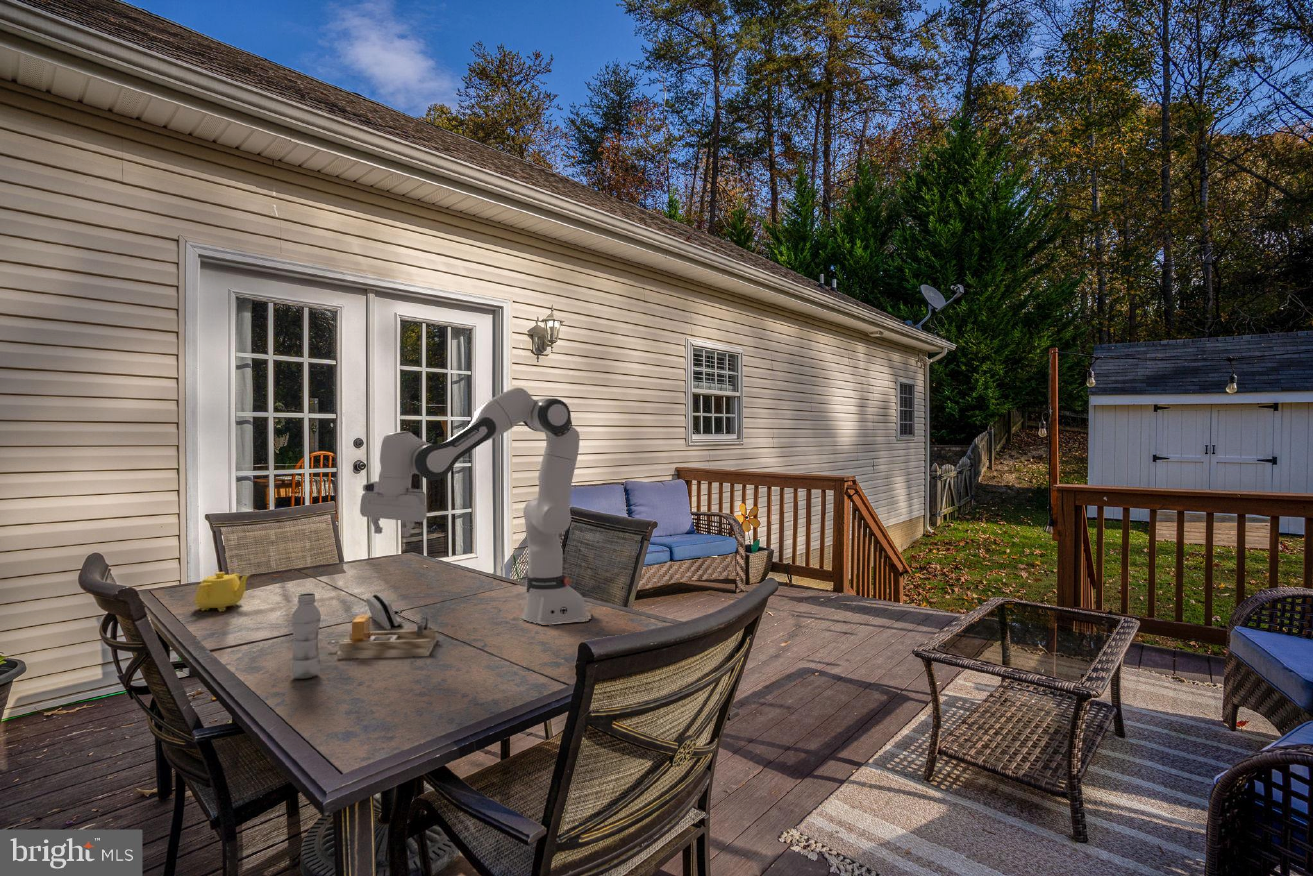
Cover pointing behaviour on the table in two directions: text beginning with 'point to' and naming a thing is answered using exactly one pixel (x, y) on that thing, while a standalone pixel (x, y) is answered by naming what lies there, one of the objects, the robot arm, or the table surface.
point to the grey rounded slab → (382, 611)
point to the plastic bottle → (305, 638)
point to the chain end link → (364, 632)
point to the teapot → (220, 591)
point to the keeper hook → (422, 626)
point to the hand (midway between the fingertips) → (391, 534)
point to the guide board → (390, 645)
